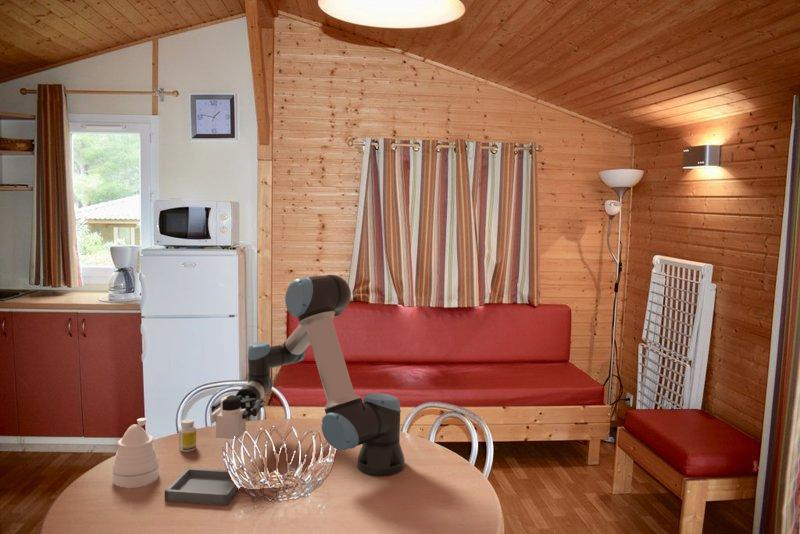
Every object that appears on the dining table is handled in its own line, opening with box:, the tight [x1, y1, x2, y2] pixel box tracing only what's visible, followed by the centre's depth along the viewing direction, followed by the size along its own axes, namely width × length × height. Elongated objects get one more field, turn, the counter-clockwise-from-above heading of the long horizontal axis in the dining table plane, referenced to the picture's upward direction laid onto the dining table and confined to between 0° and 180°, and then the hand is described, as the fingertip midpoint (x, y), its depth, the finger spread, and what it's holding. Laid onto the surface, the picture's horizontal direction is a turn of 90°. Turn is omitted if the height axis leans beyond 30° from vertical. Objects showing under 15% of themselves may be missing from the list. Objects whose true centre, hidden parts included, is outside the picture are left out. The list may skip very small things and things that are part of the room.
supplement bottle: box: [178, 418, 197, 453], centre depth 211 cm, size 5×5×10 cm
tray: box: [164, 467, 239, 506], centre depth 182 cm, size 18×15×3 cm
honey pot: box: [111, 417, 160, 489], centre depth 188 cm, size 13×13×18 cm
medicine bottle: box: [215, 394, 247, 440], centre depth 194 cm, size 7×7×12 cm
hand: (224, 419), depth 190 cm, fingers closed on medicine bottle, 7 cm apart
